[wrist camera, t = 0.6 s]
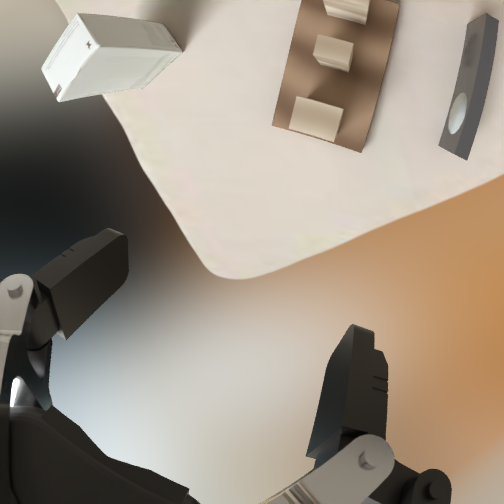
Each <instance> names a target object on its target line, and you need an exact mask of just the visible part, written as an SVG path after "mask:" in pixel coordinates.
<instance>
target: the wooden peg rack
mask: <svg viewBox="0 0 504 504" xmlns="http://www.w3.org/2000/svg"><path fill="white" fill-rule="evenodd" d="M398 9H399V4H397V3H394V2H391V1H388V0H302V1H301V5H300V9H299V13H298V17H297V21H296V25H295V29H294V34H293V38H292V42H291V46H290V50H289V54H288V59H287V63H286V67H285V71H284V75H283V80H282V84H281V88H280V92H279V96H278V101H277V105H276V109H275V113H274V118H273V122H272V126H275V127H279V128H283V129H286V130H290V131H294V132H297V133H301V134H304V135H307V136H311V137H314V138H317V139H321V140H324V141H327V142H330V143H333V144H336V145H339V146H342V147H345V148H348V149H351V150H354V151H357V152H360V153H362V150H363V147H364V143H365V140H366V137H367V133H368V130H369V127H370V123H371V120H372V116H373V113H374V109H375V106H376V102H377V98H378V95H379V91H380V87H381V84H382V80H383V76H384V72H385V68H386V64H387V60H388V55H389V51H390V47H391V43H392V38H393V34H394V29H395V24H396V19H397V14H398Z"/></svg>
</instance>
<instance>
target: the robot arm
mask: <svg viewBox="0 0 504 504" xmlns="http://www.w3.org/2000/svg"><path fill="white" fill-rule="evenodd" d="M128 273H129V259H128V238H127V236H126V235H124V234H122V233H120V232H117V231H115V230H112V229H110V228H107V229H105V230H103V231H102V232H100V233H99V234H97V235H96V236H92V237H89V238H86V239H84V240H81V241H79V242H78V243H76V244H75V245H73V246H72V247H70V249H69V250H68V249H67V250H66V251H65V252H63V253H62V255H61V256H60V255H59V256H58V257H56V258H55V259H54V260H52V261H51V262H49V264H47V265H46V266H44V267H43V268H41V269H40V270H39V271H37V272H36V273H35V274H34V275H32V276H31V277H29V276H27V275H24V274H15V275H12V276H9V277H7V278H6V279H4V280H2V279H0V504H200V503H199V502H198V501H197V500H196V499H194V498H193V497H192V496H190V495H189V494H188V493H189V488H187V487H184V486H182V485H180V484H178V483H176V482H173V481H171V480H169V479H167V478H165V477H163V476H161V475H159V474H157V473H155V472H153V471H151V470H148V469H145V468H141V467H138V466H134V465H131V464H128V463H125V462H121V461H118V460H115V459H112V458H110V457H108V456H106V455H105V454H104V453H103V452H102V451H101V450H100V449H99V448H98V447H97V446H96V444H95V443H94V442H93V441H92V440H91V439H90V438H89V437H88V436H87V434H86V433H85V432H84V431H83V430H82V429H81V428H80V426H78V425H77V424H76V423H74V422H73V421H72V420H70V419H69V418H67V417H66V416H65V415H64V414H62V413H61V412H60V411H59V410H57V409H56V408H55V407H54V406H53V404H52V399H51V395H50V391H49V376H50V363H51V354H52V345H53V341H52V337H53V336H54V334H56V333H57V334H58V335H59V336H61V337H62V338H63V339H65V340H67V339H68V338H69V337H70V336H71V335H72V334H73V333H74V332H75V331H76V330H77V329H78V328H79V327H80V326H81V325H82V324H83V323H84V322H85V321H86V320H87V319H88V318H89V317H90V316H91V315H92V314H93V313H94V312H95V311H96V310H97V309H98V308H99V307H100V306H101V305H102V304H103V303H104V302H105V301H106V300H107V299H108V298H109V297H111V295H113V294H114V293H115V292H116V291H117V290H118V289H119V288H120V287H121V286H122V285H123V284H124V283H125V281H126V279H127V276H128ZM387 381H388V364H387V362H386V359H385V357H384V354H383V352H382V351H379V350H375V349H374V332H373V331H371V330H368V329H365V328H362V327H359V326H357V325H353V324H352V325H351V326H350V327H349V328H348V330H347V331H346V333H345V335H344V336H343V338H342V339H341V341H340V343H339V344H338V346H337V347H336V349H335V350H334V352H333V353H332V355H331V357H330V360H329V362H328V364H327V368H326V372H325V376H324V381H323V386H322V391H321V396H320V400H319V405H318V409H317V413H316V418H315V422H314V426H313V430H312V434H311V438H310V442H309V446H308V449H307V454H306V456H307V457H310V458H314V459H316V461H315V465H314V469H313V470H311V471H310V472H308V473H307V474H305V475H304V476H303V477H301V478H300V479H298V480H297V481H295V482H294V483H292V484H291V485H289V486H288V487H286V488H285V489H283V490H281V491H280V492H278V493H276V494H275V495H273V496H271V497H270V498H268V499H266V500H265V501H263V502H261V503H260V504H450V502H451V491H452V488H451V483H450V480H449V478H448V477H447V475H445V474H444V473H443V472H442V471H440V470H438V469H429V470H426V471H424V472H422V473H420V474H419V473H417V472H415V471H414V470H412V469H410V468H408V467H406V466H404V465H402V464H401V463H399V462H398V461H396V460H395V459H394V453H393V450H392V448H391V447H390V445H389V444H388V443H387V442H386V422H387V401H388V400H387V399H388V394H387V392H388V382H387Z"/></svg>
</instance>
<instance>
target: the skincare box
mask: <svg viewBox="0 0 504 504" xmlns="http://www.w3.org/2000/svg"><path fill="white" fill-rule="evenodd" d="M181 53H182V50H181V49H180V47H179V46H178V44H177V43H176V42H175V40H174V39H173V37H172V36H171V34H170V33H169V31H168V30H167V29H166V27H165V26H164V25H163V24H161V23H155V22H150V21H145V20H138V19H132V18H124V17H117V16H108V15H97V14H83V13H77V14H76V16H75V17H74V18H73V20H72V21H71V22H70V24H69V25H68V27H67V28H66V30H65V31H64V33H63V34H62V36H61V37H60V39H59V40H58V42H57V43H56V45H55V46H54V48H53V50H52V51H51V53H50V54H49V56H48V58H47V59H46V61H45V63H44V65H43V66H42V68H41V69H42V71H43V73H44V75H45V78H46V79H47V81H48V83H49V85H50V87H51V89H52V91H53V93H54V95H55V97H56V98H57V100H58V102H62V101H67V100H72V99H76V98H82V97H87V96H92V95H99V94H105V93H112V92H119V91H126V90H135V89H143V88H144V87H145V86H146V85H147V84H148V83H149V82H150V81H152V80H153V79H154V78H155V77H156V76H157V75H158V74H159V73H160V72H161V71H162V70H163V69H164V68H165V67H167V66H168V65H169V64H170V63H171V62H172V61H173V60H174V59H175V58H176V57H178V56H179V55H180V54H181Z"/></svg>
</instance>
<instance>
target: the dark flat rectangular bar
mask: <svg viewBox="0 0 504 504" xmlns="http://www.w3.org/2000/svg"><path fill="white" fill-rule="evenodd" d="M498 22H499V21H498V20H497V19H495V18H493V17H492V16H490V15H488V14H487V13H486V14H484V15H482V16H481V17H479V18H477V19H476V20H474V21H472V22H471V23H469V24H468V25H467V30H466V37H465V43H464V48H463V54H462V59H461V64H460V68H459V73H458V77H457V82H456V86H455V90H454V94H453V98H452V102H451V105H450V109H449V112H448V116H447V119H446V123H445V126H444V129H443V133H442V136H441V139H440V142H439V145H438V146H440V147H442V148H444V149H446V150H448V151H449V152H451V153H453V154H455V155H457V156H459V157H461V158H463V159H465V160H467V159H468V156H469V153H470V150H471V147H472V144H473V141H474V138H475V135H476V131H477V128H478V125H479V121H480V118H481V114H482V110H483V106H484V102H485V98H486V94H487V90H488V85H489V81H490V76H491V71H492V65H493V60H494V54H495V47H496V40H497V32H498Z"/></svg>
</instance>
